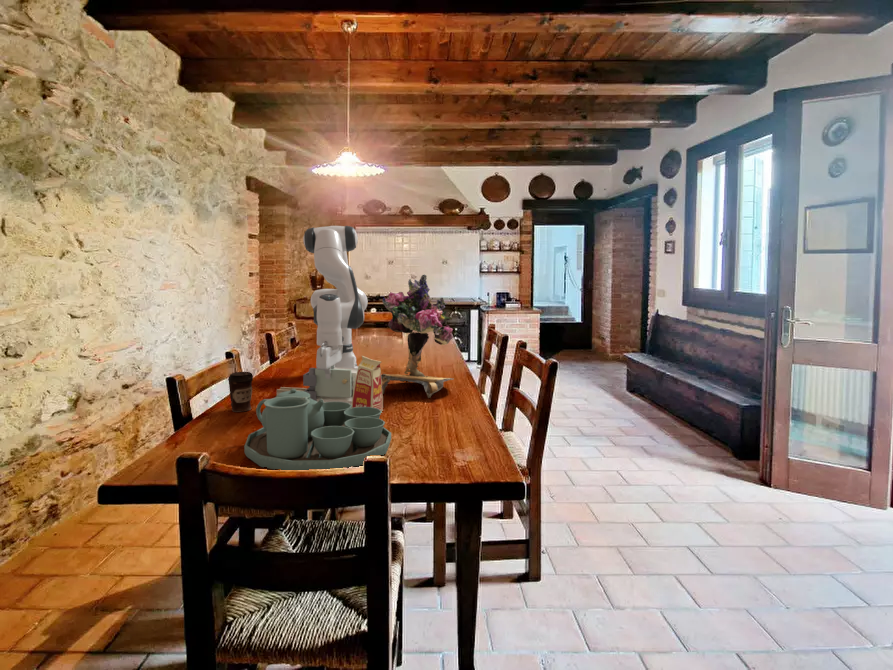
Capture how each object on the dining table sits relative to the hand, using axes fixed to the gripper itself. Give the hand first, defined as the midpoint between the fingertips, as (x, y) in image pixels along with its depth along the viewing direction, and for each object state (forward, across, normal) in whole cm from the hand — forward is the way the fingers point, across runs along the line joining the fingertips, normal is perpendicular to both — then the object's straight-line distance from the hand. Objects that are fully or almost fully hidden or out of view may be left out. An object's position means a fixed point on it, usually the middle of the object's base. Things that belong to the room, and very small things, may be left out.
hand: (329, 377), depth 203 cm
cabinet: (+10, +5, 0) cm, 11 cm away
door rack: (+10, +8, +17) cm, 21 cm away
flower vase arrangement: (+10, +27, -28) cm, 40 cm away
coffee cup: (+10, -13, +27) cm, 32 cm away
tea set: (+10, -46, -11) cm, 49 cm away
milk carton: (+10, -10, -17) cm, 22 cm away
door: (+7, 0, 0) cm, 7 cm away
